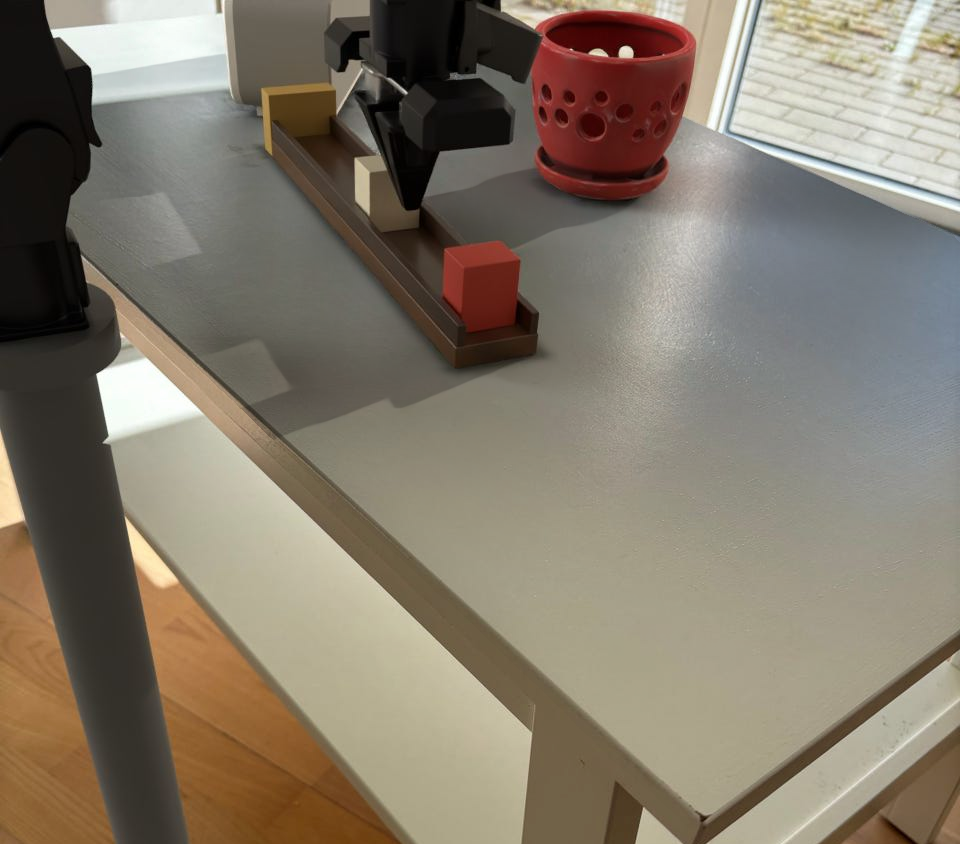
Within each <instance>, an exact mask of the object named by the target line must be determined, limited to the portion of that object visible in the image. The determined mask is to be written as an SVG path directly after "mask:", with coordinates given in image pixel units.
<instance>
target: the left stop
mask: <svg viewBox="0 0 960 844" xmlns="http://www.w3.org/2000/svg"><path fill="white" fill-rule="evenodd" d="M261 92H262V107H263V116H262V121H263V122H262V123H263V134H264V135H263V136H264V149H265V150H266V151H267V152H268V154H269V155H270V156H271V157H272V158H273V156H272V141H271V140H272V139H273V138H272V124H271V121H274V120H278V121H279V122H280V123H281V124H282V125H283V126H284V128H285V129H286V130H287V131H288V132H289V133H290V134H291V135H292V136H293V137H301V136H311V135H322V134H330V115H336V116H337V117H338V114H337V108H336V90H335V89H334V88H333V87H332V86H331V85H330V84H329V83H318V84H305V85H292V86H279V87H266V88H261Z"/></svg>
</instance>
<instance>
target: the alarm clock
mask: <svg viewBox="0 0 960 844" xmlns="http://www.w3.org/2000/svg"><path fill="white" fill-rule="evenodd" d="M359 16H370V0H222V19H223V20H222V21H223V32H224V33H223V34H224V40H225V41H224V42H225V43H224V44H225V54H226V64H227V78H228V87H229V92H230V95H231V98H232V100H233V101H234V102H235V103H236V104H237V105H247V106H256V117H257V116H258V117H263V107H262V92H261V88H266V87H279V86H292V85H305V84H318V83H329V84H330V85H331V86H332V87H333V88H334V89H335V90H336V108H337V115H338V114H339V112H340V110H341V109H342V107H343V106H344V104H345V102H346V100H347V99H348V97H349V95H350V93H351V91H352V89H354V86H355V84H356V83H357V81H358V79H359V78H360V76H361V75H362V72H363V71H364V69H362V68H361V61H366V60H358V61H356V60H349V64H348V66H347V69H346V71H345V72H341V73H337V72H336V71H335V70H334V69H332V68H331V67H330V66H329V65H328V64H327V63H326V62H325V54H324V32H325V31H326V30H327V28H328V27H329V26H330V25H331V23H332V22H333V21H334V20H335V18H340V17H359Z"/></svg>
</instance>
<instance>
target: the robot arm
mask: <svg viewBox="0 0 960 844" xmlns="http://www.w3.org/2000/svg"><path fill="white" fill-rule="evenodd" d="M45 3H46V2H45V0H0V343H1V342H7V341H14V340H21V339H27V338H34V337H41V336H47V335H54V334H61V333H67V332H74V331H81V330H86V329H88V328H89V327H90V325H89V320H88V317H87V315H86V313H85V310H84V308H85V307H88V306H89V305H90V298H89V293H88V288H87V283H86V282H87V279H86V273H85V268H84V263H83V257H82V253H81V247H80V243H79V242H78V239H77V237H76V235H75V233H74V231H73V229H72V228H71V227H69V226H68V225H67V223H68V215H69V211H70V205H71V200H72V196H73V195H74V194H75V193H76V192H77V190H78V189H79V188H80V187H81V186H82V185H83V184H84V183H85V182H87V180H88V179H89V175H90V172H91V165H92V151H91V146H90V145H92V146H94V147H96V148H101V147H102V146H103V142H102V140H101V138H100V135H99V134H98V132H97V129H96V127H95V122H94V119H93V91H94V89H93V88H94V85H93V84H94V83H93V72H92V71H93V70H92V68H91V66H90V65H89V64H88V63H86V61H84V59H82V57H81V56H80V55H78V53H77V52H76V51H75V50H73V48H72V47H70V45H69V44H68V43H67V42H66V41H64V39H62V37H60V36H57V37H54V35H53V32H52V30H51V27H50V24H49V20H48V17H47V11H46V4H45ZM543 36H544V35H543V34H541V33H540V32H538V31H537V30H535V28H533V27H532V26H531V25H529V24H527V23H525V22H523V20H520V19H519V18H517V17H514V16H513V15H511V14H509V13H508V12H507V11H502V0H370V16H359V17H340V18H335V20H334V21H333V22H332V23H331V25H330V26H329V27H328V28H327V30H326V31H325V32H324V54H325V62H326V63H327V64H328V65H329V66H330V67H331V68H332V69H334V70H335V71H336V72H337V73H341V72H345V71H346V69H347V66H348V64H349V60H356V61H358V60H366V61H361V68H362V69H363V71H364V74H365V75H364V76H365V79H364V80H365V82H364V83H365V85H364V88H365V89H359V90H356V91H354V93H353V96H354V100H355V102H357V104H358V105H359V108H360V110H361V112H362V115H363V117H364V119H365V121H366V124H367V126H368V128H369V131H370V134H371V135H372V138H373V140H374V142H375V145H376V147H377V149H378V152H379V153H380V154H379V155H381V157H382V159H383V161H384V164H385V166H386V169H387V171H388V174H389V176H390V179H391V181H392V184H393V186H394V189H395V191H396V194H397V196H398V198H399V201H400V203H401V206H402V207H403V208H404V209H405V210H406V211H413V210H418V209H419V208H420V206H421V204H422V201H423V200H424V198H425V195H426V191H427V189H428V186H429V183H430V180H431V179H432V178H431V177H432V175H433V171H434V168H435V166H436V163H437V160H438V159H439V155H440V153H442V152H453V151H461V150H471V149H472V150H473V149H480V148H489V147H490V148H491V147H498V146H499V147H501V146H509V145H511V143H512V142H513V141H514V135H515V123H516V113H517V112H516V111H517V109H516V108H515V107H514V106H513V104H512V103H511V102H510V101H509V100H508V98H507V97H506V96H505V95H504V94H503V93H501V92H500V91H499V90H498V89H496V88H495V87H494V86H492V85H491V84H489V83H488V82H487V81H485V80H484V79H483V78H481V77H475V78H474V77H472V78H461V79H455V78H451V74H458V75H459V76H464V75H476V74H477V68H478V67H477V66H478V65H480V66H482V67H486V68H488V69H491V70H494V71H496V72H499V73H501V74H504V75H507V76H509V77H510V78H511V80H512V81H514V82H515V83H517V84H521V85H525V84H526V83H527V81H528V78H529V75H530V74H531V68H532V65H533V63H534V60H535V57H536V55H537V52H538V49H539V47H540V44H541V41H542V39H543Z"/></svg>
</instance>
